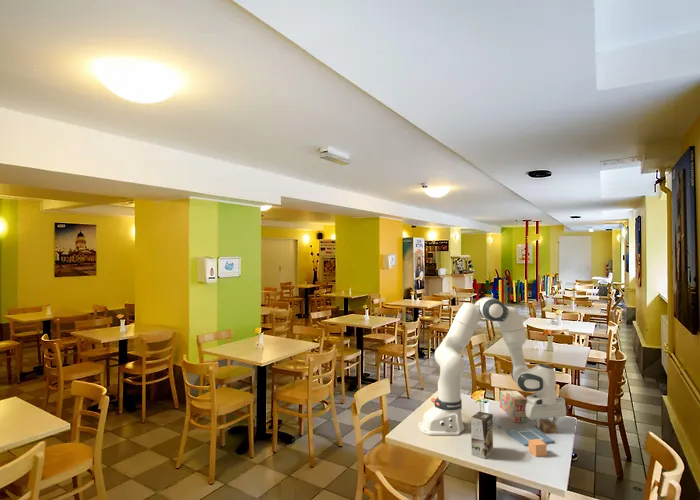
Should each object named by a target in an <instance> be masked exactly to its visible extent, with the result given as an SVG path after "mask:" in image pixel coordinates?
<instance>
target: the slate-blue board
mask: <svg viewBox="0 0 700 500" xmlns="http://www.w3.org/2000/svg"><path fill="white" fill-rule="evenodd" d="M506 433H507V434H508V435H509V436H510V437H512V438H513V439H515V440H516V441H517V442H518V443H519V444H522V446H524V447H529V440H533V439H540V440H541V441H543V442H544V443H545V444H546V445H549V444H555V440H554V439H552V438H550V437H549V436H548V435H547V434H544V433H543V432H542V431H541V430H540V429H538V428H537V427H530V428H519V429H517V428H516V429H510V430H509V429H508V430H506Z"/></svg>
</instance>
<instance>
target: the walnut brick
mask: <svg viewBox="0 0 700 500" xmlns="http://www.w3.org/2000/svg"><path fill="white" fill-rule="evenodd" d="M539 423H541V424H542V427H540V428H538V427H537V423H536V422H535V428H536V429H537V430H539V431H540V432H542V433H543V434H545V435H548V434H549V435H550V434H551V435H552V434H558V425H557V423H556V424H554V423H553V422H552V420H550V418H542V419H540V421H539Z"/></svg>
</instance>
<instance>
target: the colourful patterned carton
mask: <svg viewBox="0 0 700 500" xmlns="http://www.w3.org/2000/svg"><path fill="white" fill-rule="evenodd" d="M527 402H528V401H527V399H526V397H525V396H524V395H523V394H521V393H520V392H519V391H518V390H499V408H501V410H502V411H503V410H504V411H505V412H506V413H507V414H506V413H505V412H504V411H503V412H504V413H505V414H506V415H507V416H508V417H509V418H510V419H511V420H512V421H513V422H514V423H515V424H517V423H521V424H522V423H528V417H527V416H526V413H525V410H526V403H527Z"/></svg>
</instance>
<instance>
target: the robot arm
mask: <svg viewBox="0 0 700 500" xmlns="http://www.w3.org/2000/svg"><path fill="white" fill-rule="evenodd" d="M482 319H484V320H487V321H491V322H497V323H498V325H499V329H500V332H501V336H502V338H503V341H504V344H505V345H506V347H507V348H508V352H509V355H510V358H511V365H512V366H511V372H510V373H511V379H512V380H513V382H515V383H516V385H517V386H518V387H519V388H520V389H521V390H522V391H523V392H527V393H531V392H532V394H530V395H529V394H528V395H527V396H526V397H525V398H526V399H527V403H526V410H525V413H526V416H527V419H529V420H534V421H535V424H536V423H537V427H538V428H540V427H542V424H541V423H539V421H540V419H551V418H553V419H552V420H551V421H552V422H553V423H554V424H556V425H557V422H558V420H559V418H563V417H566V416H567V407H566V399H565V398H564V397H563V396H557V392H556V384H557V381H556V372H555V369H554V367H552V366H550V365H548V364H546V363H537V364H536V365H534V366H533V367H530V368H529V366H528V365H527V363H526V361H525V356H524V353H523V345H524V344H525V343H526V341H527V335H526V329H525V326H524V323H523V320H522V316H521V315H520V312H519V311H518V309H517V308H515V307H513V306H505V304H504V303H503V302H502V301H501V300H499V299H496V298H494V297H490V296H481V297H479V299H477V300H476V301H475V302H465V303H463V304H462V305H461V306H460V307H459V309H458V310H457V312H456V314H455V316H454V319H453V321H452V323H451V325H450V327H449V328H448V329H449V330H448V331H447V334H446V335H445V337H443V339H442V341H441V342H440V344H439V346H437V348H435V351H434V354H433V355H434V360H435V362H436V364H437V365H438V366H439V369H440V373H439V377H438V381H437V397H436V398H435V397H431V398H430V401H431V402H432V404H433V403H434V405H433V406H432V407H430V408H429V409H428V410H426V411H425V412H424V414H423V415H422V421H419V422H418V423H417V427H418V429H419V430H420V431H421V432H422V433H424V434H425V435H427V436H460V435H461V433H462V432H463V431H464V430H465V426H464V421H463V415H462V408H463V404H462V398H461V396H462V395H461V393H462V392H461V390H462V389H461V386H462V378H463V373H464V370H465V369H466V364H465V360H464V359H463V356H462V355H461V353H462V352H463V350H464V349H465V347H467V346H468V345H469V344H470V341H471V339H472V337H473V335H474V332H475V330H476V328H477V325H478V323H479V322H480V321H481V320H482ZM533 392H534V393H533ZM537 427H536V428H537ZM538 428H537V429H538Z"/></svg>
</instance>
